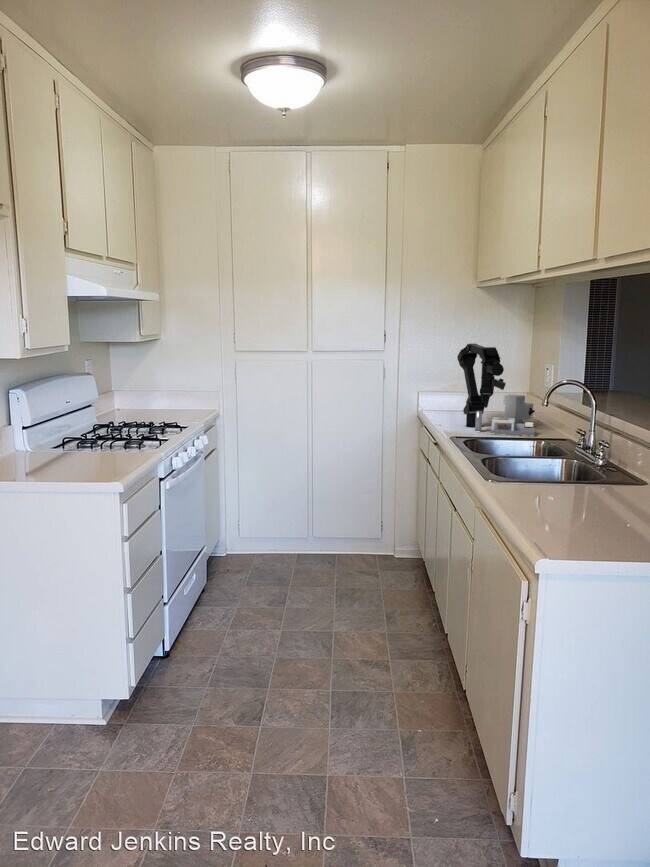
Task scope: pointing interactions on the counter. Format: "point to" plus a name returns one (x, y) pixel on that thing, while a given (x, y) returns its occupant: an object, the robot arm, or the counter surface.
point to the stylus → (478, 421)
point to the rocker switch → (528, 424)
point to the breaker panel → (510, 430)
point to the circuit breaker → (517, 408)
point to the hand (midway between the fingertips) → (486, 406)
